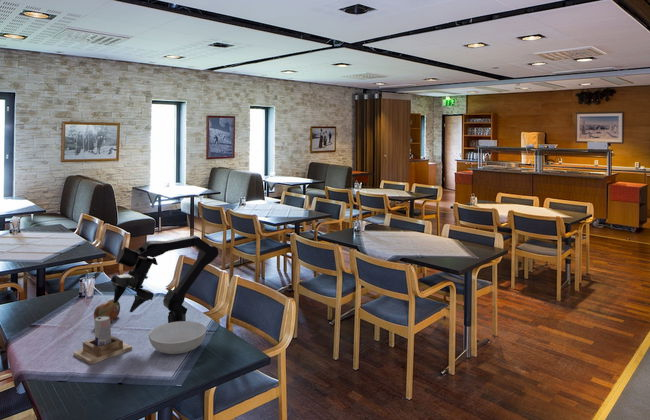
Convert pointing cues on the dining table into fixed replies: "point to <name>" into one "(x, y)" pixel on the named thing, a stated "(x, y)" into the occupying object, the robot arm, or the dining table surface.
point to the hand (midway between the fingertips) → (122, 307)
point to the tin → (108, 310)
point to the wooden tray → (101, 350)
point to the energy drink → (102, 331)
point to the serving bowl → (177, 337)
